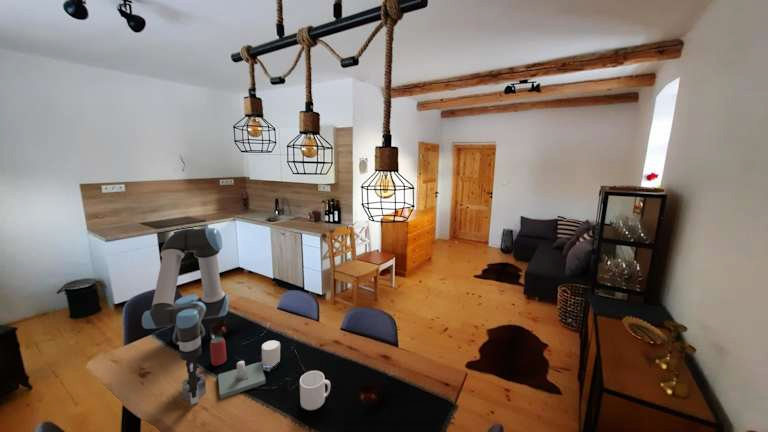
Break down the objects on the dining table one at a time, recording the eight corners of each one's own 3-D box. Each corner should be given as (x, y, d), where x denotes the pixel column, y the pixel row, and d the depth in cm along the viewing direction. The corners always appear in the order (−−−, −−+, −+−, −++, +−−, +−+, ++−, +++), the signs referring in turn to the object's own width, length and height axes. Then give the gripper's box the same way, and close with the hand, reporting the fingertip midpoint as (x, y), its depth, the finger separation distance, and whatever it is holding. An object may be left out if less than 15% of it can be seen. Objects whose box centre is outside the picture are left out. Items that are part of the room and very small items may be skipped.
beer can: (220, 367, 145) (218, 344, 143) (208, 365, 146) (206, 342, 144) (229, 358, 151) (227, 336, 149) (218, 356, 153) (216, 335, 150)
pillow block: (218, 378, 137) (216, 360, 136) (260, 365, 147) (259, 348, 145) (220, 399, 126) (218, 379, 124) (265, 383, 135) (264, 365, 133)
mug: (296, 409, 121) (295, 386, 119) (305, 390, 131) (304, 369, 129) (327, 412, 120) (326, 389, 118) (333, 393, 130) (333, 372, 128)
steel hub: (184, 390, 130) (182, 378, 129) (205, 383, 134) (204, 371, 133) (183, 403, 123) (182, 390, 122) (206, 395, 127) (204, 383, 126)
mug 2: (271, 352, 142) (257, 349, 144) (272, 369, 144) (258, 366, 146) (285, 338, 154) (271, 335, 156) (286, 354, 155) (272, 352, 157)
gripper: (180, 335, 133) (185, 378, 137) (177, 366, 113) (183, 416, 116) (200, 330, 137) (204, 372, 140) (201, 360, 116) (205, 408, 120)
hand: (195, 392), depth 128 cm, fingers open, 12 cm apart
